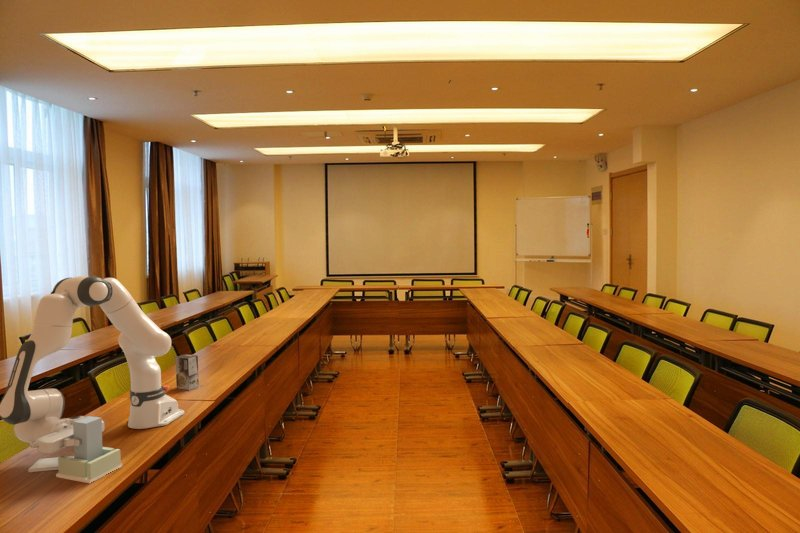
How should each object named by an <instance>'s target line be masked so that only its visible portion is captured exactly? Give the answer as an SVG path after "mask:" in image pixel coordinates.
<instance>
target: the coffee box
mask: <svg viewBox="0 0 800 533" xmlns="http://www.w3.org/2000/svg"><path fill="white" fill-rule="evenodd" d="M174 359H175V375H176V376H175V378H176V379H175V381H176V389H180V390H186V391H187V390H188V391H190V390H194V389H196V388H199V387H200V386H199V385H200V384H199V383H200V382H199V363H198V362H199V361H198V360H199V358H198V355H194V354H181V355H179V356H175V358H174Z"/></svg>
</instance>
